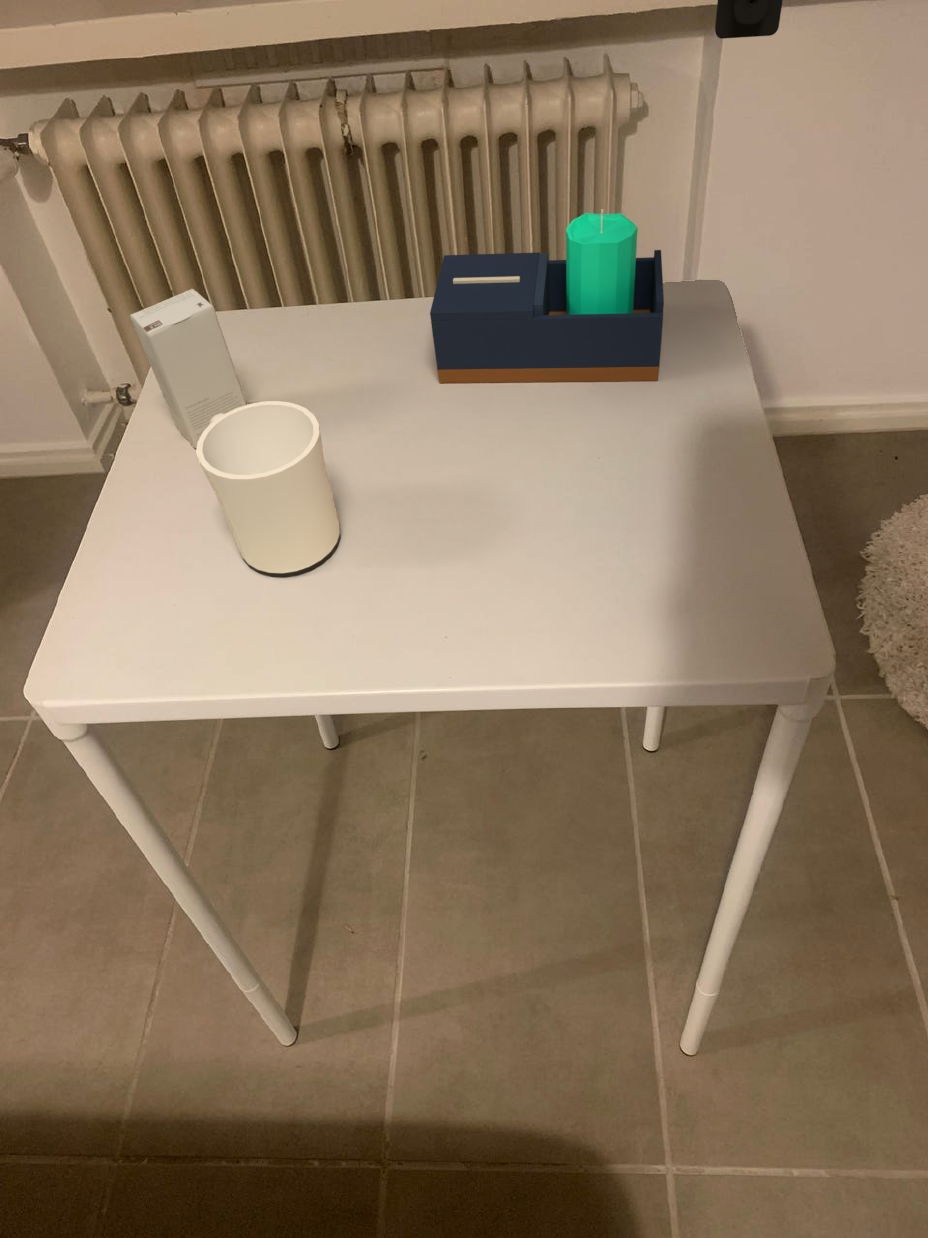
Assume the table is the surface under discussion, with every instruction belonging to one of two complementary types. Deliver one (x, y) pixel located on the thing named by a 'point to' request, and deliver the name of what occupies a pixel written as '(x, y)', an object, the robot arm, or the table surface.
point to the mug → (272, 485)
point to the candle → (600, 264)
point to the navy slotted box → (539, 324)
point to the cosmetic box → (189, 361)
